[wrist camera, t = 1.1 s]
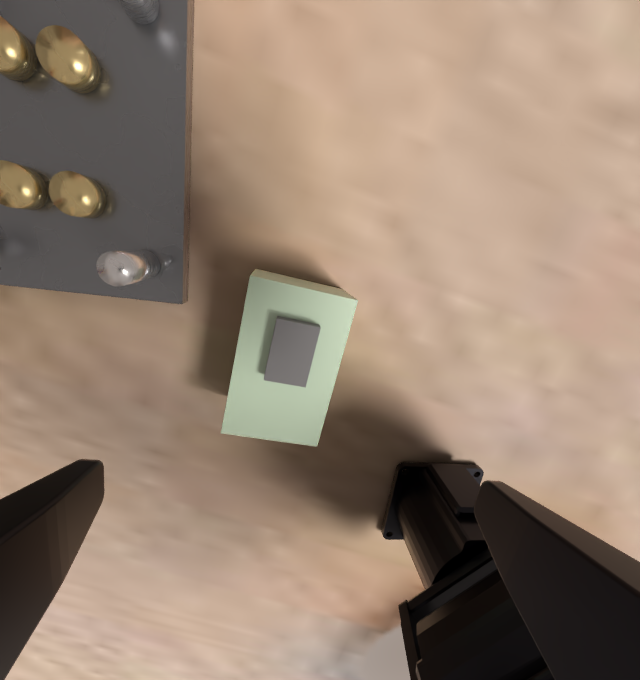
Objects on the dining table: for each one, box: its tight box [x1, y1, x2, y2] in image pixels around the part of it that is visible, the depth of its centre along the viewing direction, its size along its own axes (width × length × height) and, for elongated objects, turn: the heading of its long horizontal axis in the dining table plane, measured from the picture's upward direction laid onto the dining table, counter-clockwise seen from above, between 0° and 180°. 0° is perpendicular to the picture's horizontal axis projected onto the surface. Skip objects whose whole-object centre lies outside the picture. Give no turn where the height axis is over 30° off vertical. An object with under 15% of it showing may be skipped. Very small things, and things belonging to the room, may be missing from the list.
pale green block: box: [221, 269, 358, 447], centre depth 17 cm, size 8×5×5 cm, turn 166°
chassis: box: [0, 0, 194, 304], centre depth 13 cm, size 14×11×4 cm
